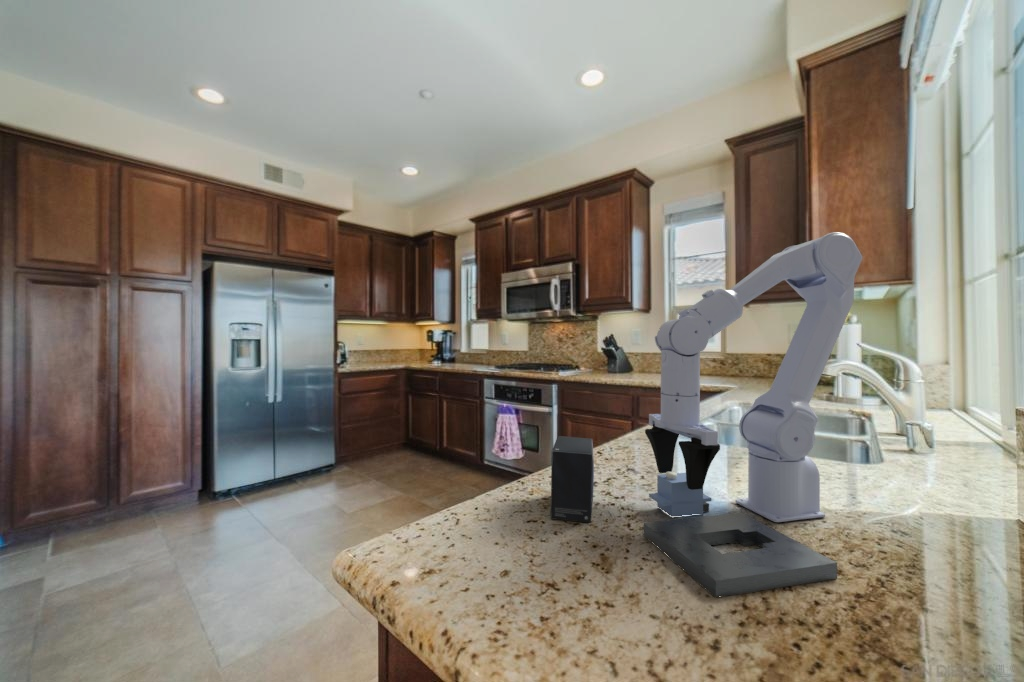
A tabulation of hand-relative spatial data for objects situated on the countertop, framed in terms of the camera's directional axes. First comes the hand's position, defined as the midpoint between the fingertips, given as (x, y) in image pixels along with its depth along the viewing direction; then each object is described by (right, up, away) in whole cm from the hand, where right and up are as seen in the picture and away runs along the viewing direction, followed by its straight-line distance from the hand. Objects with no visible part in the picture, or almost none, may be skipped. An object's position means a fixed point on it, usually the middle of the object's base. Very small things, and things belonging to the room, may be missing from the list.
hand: (679, 480), depth 64 cm
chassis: (+1, -5, -13) cm, 14 cm away
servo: (0, -5, 0) cm, 5 cm away
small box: (-17, -5, +1) cm, 18 cm away
